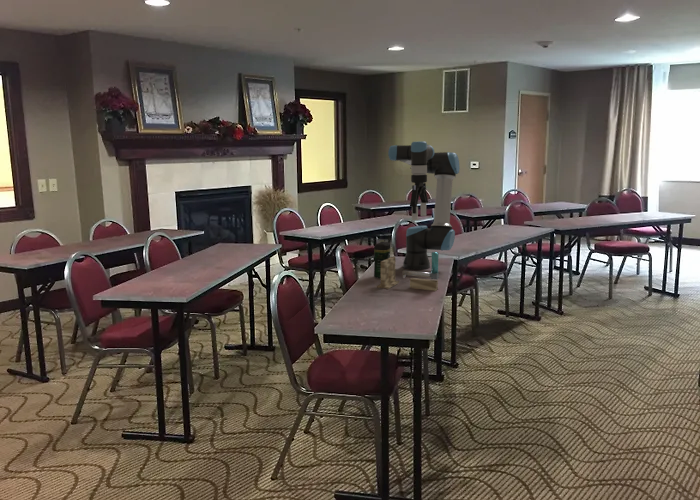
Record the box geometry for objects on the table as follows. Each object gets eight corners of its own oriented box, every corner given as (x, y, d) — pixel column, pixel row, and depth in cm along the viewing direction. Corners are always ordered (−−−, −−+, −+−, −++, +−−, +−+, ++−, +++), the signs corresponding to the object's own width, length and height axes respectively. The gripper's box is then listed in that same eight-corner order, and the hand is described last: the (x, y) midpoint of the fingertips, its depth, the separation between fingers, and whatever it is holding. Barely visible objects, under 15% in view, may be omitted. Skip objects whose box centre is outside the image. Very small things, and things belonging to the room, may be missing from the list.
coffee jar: (386, 279, 300) (386, 243, 297) (372, 278, 303) (372, 243, 300) (392, 275, 309) (392, 240, 306) (378, 274, 312) (378, 240, 308)
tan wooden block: (388, 281, 295) (388, 256, 293) (399, 282, 292) (399, 257, 290) (376, 287, 283) (376, 261, 280) (388, 288, 280) (388, 262, 278)
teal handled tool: (404, 276, 284) (404, 249, 282) (439, 279, 277) (439, 252, 274) (402, 277, 282) (402, 251, 279) (436, 281, 274) (437, 253, 272)
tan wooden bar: (412, 286, 283) (412, 277, 283) (437, 289, 278) (437, 280, 277) (409, 288, 281) (410, 279, 280) (435, 290, 275) (435, 281, 274)
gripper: (419, 172, 291) (419, 214, 295) (403, 176, 269) (403, 221, 273) (434, 172, 288) (433, 214, 292) (418, 176, 266) (418, 222, 270)
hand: (419, 218), depth 283 cm, fingers open, 13 cm apart
